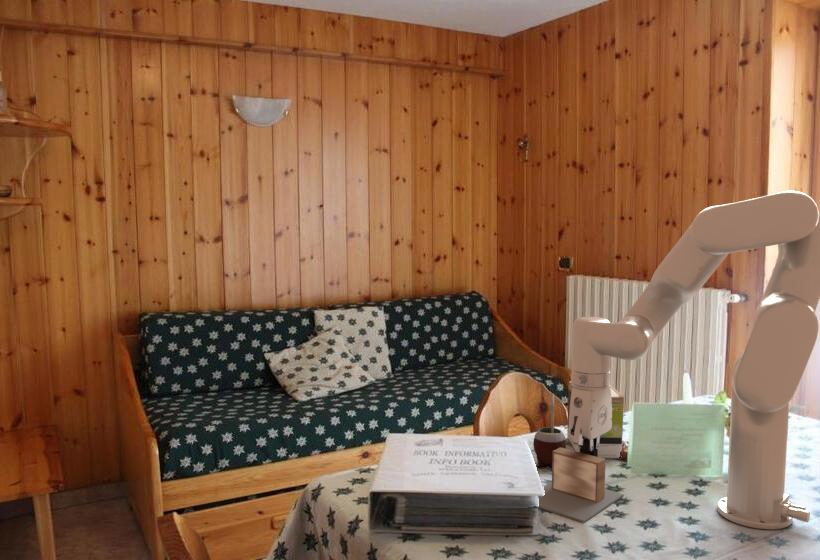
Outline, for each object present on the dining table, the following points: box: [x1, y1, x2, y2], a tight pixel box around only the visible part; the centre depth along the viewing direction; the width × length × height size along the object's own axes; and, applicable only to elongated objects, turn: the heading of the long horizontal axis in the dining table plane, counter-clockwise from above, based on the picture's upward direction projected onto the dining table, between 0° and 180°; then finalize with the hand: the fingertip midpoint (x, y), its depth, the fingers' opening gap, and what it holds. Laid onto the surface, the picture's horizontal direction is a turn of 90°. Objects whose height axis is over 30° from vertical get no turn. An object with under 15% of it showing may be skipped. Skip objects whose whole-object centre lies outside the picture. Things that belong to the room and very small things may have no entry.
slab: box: [551, 447, 606, 503], centre depth 140 cm, size 10×3×8 cm, turn 48°
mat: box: [539, 481, 625, 524], centre depth 139 cm, size 14×16×1 cm
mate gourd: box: [532, 393, 567, 470], centre depth 156 cm, size 8×8×15 cm
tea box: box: [566, 380, 625, 459], centre depth 168 cm, size 15×10×15 cm
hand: (588, 466), depth 143 cm, fingers closed
